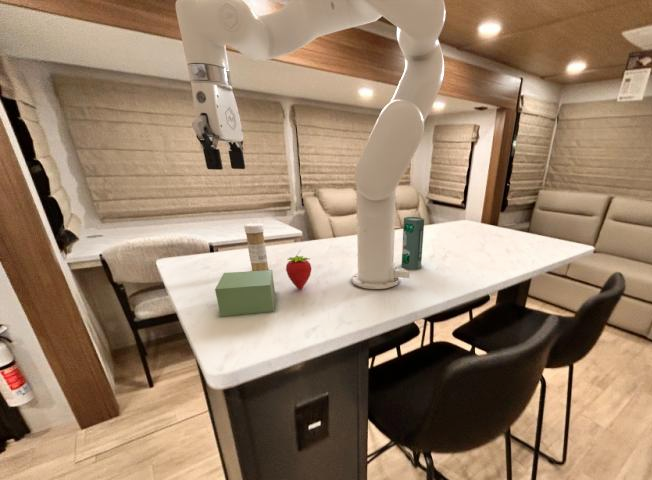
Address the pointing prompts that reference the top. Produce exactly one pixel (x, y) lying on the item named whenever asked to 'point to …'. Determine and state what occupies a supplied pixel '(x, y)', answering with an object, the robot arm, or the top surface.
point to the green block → (245, 292)
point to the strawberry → (298, 270)
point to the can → (412, 242)
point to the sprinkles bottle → (256, 246)
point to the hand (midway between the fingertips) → (227, 169)
